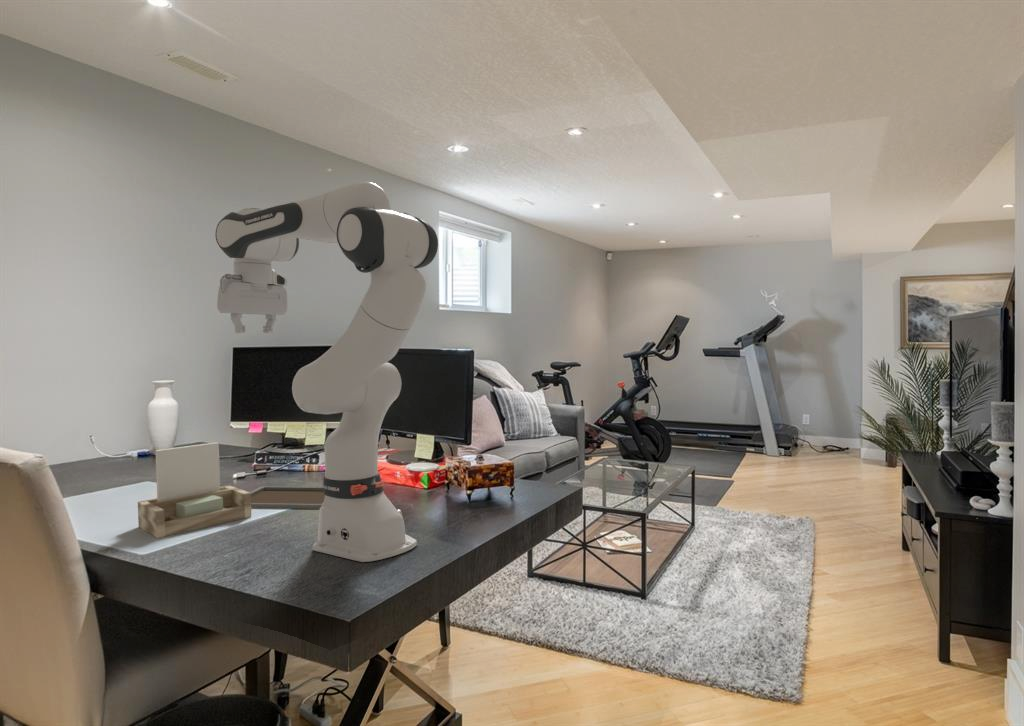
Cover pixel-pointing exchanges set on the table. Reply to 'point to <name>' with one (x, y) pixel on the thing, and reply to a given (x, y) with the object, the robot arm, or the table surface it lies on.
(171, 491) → the off-white rectangular board
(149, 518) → the rack
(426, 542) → the table surface
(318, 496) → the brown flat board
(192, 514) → the offcut top
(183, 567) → the table surface
